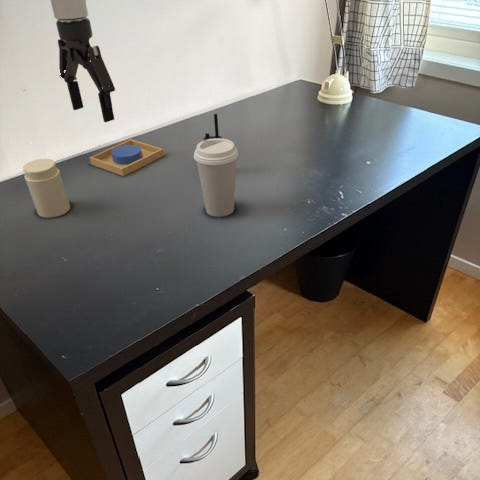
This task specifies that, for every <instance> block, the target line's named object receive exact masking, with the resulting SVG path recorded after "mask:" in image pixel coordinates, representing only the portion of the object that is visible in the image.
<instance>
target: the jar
mask: <svg viewBox="0 0 480 480" xmlns="http://www.w3.org/2000/svg"><path fill="white" fill-rule="evenodd" d="M22 169H23V173H24V180H25V184H26V185H27V188H28V191H29V194H30V196H31V199H32V202H33V205H34V207H35V210H36V213H37V215H38V216H39V217H42V218H46V219H47V218H49V219H50V218H51V219H52V218H57V217H61V216H62V215H66V213H68V212H69V211H70V209H71V204H70V200H69V196H68V193H67V191H66V187H65V185H64V180H63V178H62V175H61V171H60V169H59V168H58V167H57V163H56V162H55V160H54V159H50V158H38V159H33V160H30V161H28V162H27V163H25V164H24V165H23V167H22Z"/></svg>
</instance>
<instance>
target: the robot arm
mask: <svg viewBox="0 0 480 480" xmlns="http://www.w3.org/2000/svg"><path fill="white" fill-rule="evenodd" d="M50 5H51V8H52V12H53V17H54V19H56V22H55V24H56V29H57V33H58V37H59V39H58V40H57V44H58V45H57V46H58V50H59V52H58V53H59V54H58V55H59V57H58V59H59V62H58V63H59V65H58V67H59V69H60V73H61V75H59V77H60V76H61V77H62V78H61V77H60V78H61V79H63V80H64V83H66V85H67V91H68V93H69V98H70V103H71V107H72V110H73V111H77V110H80V109H83V108H84V103H83V99H82V93H81V91H80V87H79V81H78V78H77V73H78V69H79V65H80V66H81V67H82V68H83V69H84V70H86V71H87V73H88V75H89V76H90V78H91V81H93V84H94V85H95V87H96V88H97V90H98V93H97V95H98V99H99V105H100V110H101V115H102V119H103V123H108V122H111V121H114V120H115V115H114V108H113V103H112V96H111V94H112V93H113V92H116V87H115V84H114V83H113V80H112V78H111V76H110V73H109V71H108V69H107V66H106V64H105V61H104V59H103V57H102V53H101V49H100V46H99V45H93V46H91V43H90V39H91V38H92V37H93V30H92V24H91V20H90V19H89V17H88V16H89V11H88V6H87V0H50ZM87 17H88V18H87ZM59 69H58V70H59ZM64 70H66V71H64ZM64 72H65V73H64Z"/></svg>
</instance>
